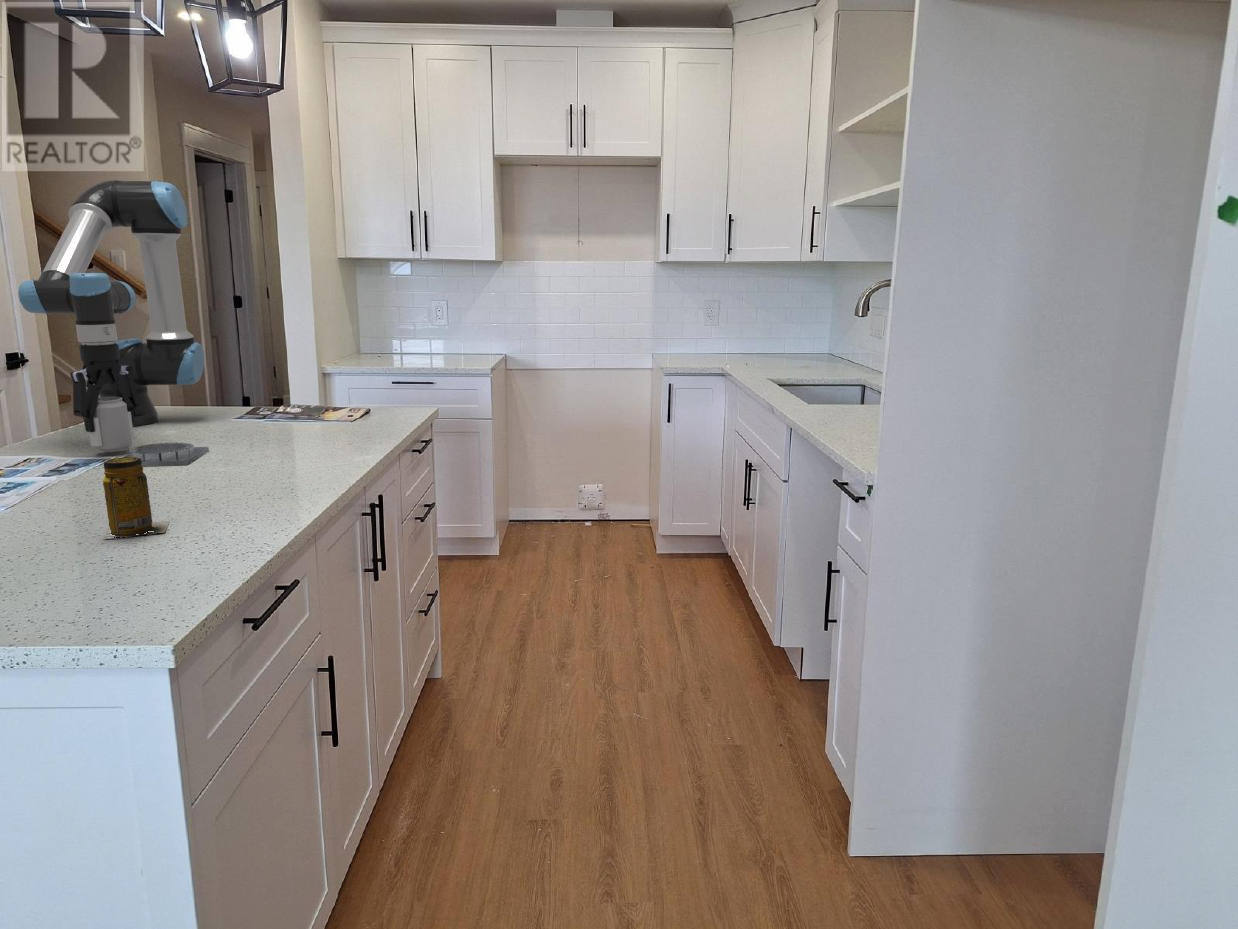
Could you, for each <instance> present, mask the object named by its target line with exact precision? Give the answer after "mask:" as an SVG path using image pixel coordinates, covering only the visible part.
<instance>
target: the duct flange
mask: <svg viewBox="0 0 1238 929" xmlns="http://www.w3.org/2000/svg"><path fill="white" fill-rule="evenodd" d="M209 449H210V448H209V446H195V445H194V444H192V443H188V442H179V441H178V442H160V443H159V442H158V443H150V444H144V445H139V446H135V447H132V448H130V449H129V450H128V453H129V454H127V455H125V456H124V457H137V458H140V459H141V461H142V467H165V466H166V467H168V466H169V467H171V466H174V467H175V465H176V466H188V465H190V464H192V463H193V462H195V461H196V460H198V459H199V458H201V457H202V456H203V454H204V453H205V454H206V452H207V453H208V452H210V450H209ZM205 454H204V455H205ZM201 455H202V456H201ZM200 456H201V457H200ZM197 458H198V459H197ZM195 459H196V460H195ZM194 460H195V461H194ZM191 462H192V463H191Z"/></svg>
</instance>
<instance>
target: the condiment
mask: <svg viewBox="0 0 1238 929" xmlns="http://www.w3.org/2000/svg"><path fill="white" fill-rule="evenodd" d="M103 469H104V471H103V472H104V473H103V474H104V478H103V480H102V485H103V489H104V497H105V503H106V506H105V507H106V512H107V520H108V527H109V531H111V533H107V534H112V535H115V536H110V535H109V536H105V537H104V538H103V540H109V539H110V540H111V539H113V538H108V537H115V538H114V539H117V538H116V537H120V538H119V539H121V538H122V537H125V538H132V537H137V536H141V535H142V536H143V535H144V536H146V535H154V534H163V533H166V532H167V530H168V528H169V524H170V520H166V521H165V520H164V521H154V522H153V515H152V509H151V502H150V494H149V486H148V485H149V484H148V478H147V475H146V474H145V473H144V466H142V461H141V459H140V458H137V457H125V456H123V457H114V458H110V459H107V460H105V461H104V462H103ZM109 531H108V532H109ZM148 531H154V532H148ZM146 532H147V534H144V533H146ZM136 534H140V535H136ZM122 539H123V538H122Z"/></svg>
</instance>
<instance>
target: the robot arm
mask: <svg viewBox="0 0 1238 929" xmlns="http://www.w3.org/2000/svg"><path fill="white" fill-rule="evenodd" d="M183 198H184V197H182V194H181V192H180V190H179V189H178V188H177V187H176V186H175V185H174V184H172V183H170V182H165V181H164V182H163V181H157V180H154V181H153V180H150V181H148V180H145V181H144V180H142V181H141V180H117V179H115V180H114V179H113V180H106V181H103V182H99V183H97V184H94V185H92V186H91V187H89V188H87V189H86V190H85V191H84V192H82V193H81V194H80V195H78V197H77V198H76V199H75V200H74V201H73V203H72V204H71V205H70V206H71V207H70V208H69V210H68V219H69V221H68V223H67V224H66V226H65V228H64V230H63V231H62V234H61V236H60V238H59V240H58V242H57V244H56V246H55V247H54V250H53V251H52V253H51V255H50V257H49V259H48V261H47V263H46V265H45V266H44V269H43V270H42V272H41V274H40V276H39V277H38V279H36V280H35V279H31V280H24V281H22V282H21V283H20V284H19V286H18V292H17V293H18V294H17V295H18V299H19V302H20V304H21V306H22V308H23V309H24V310H25V311H26V312H28V313H32V314H45V315H50V314H51V315H53V314H54V315H55V314H56V315H57V314H59V315H60V314H63V315H64V314H74V319H75V320H74V321H75V328H76V335H77V336H76V337H77V341H78V343H81V344H79V346H78V348H79V354H80V355H79V356H80V360H81V361H82V363H83V365H82V369H81V370H77V371H71V372H70V373H69V374H70V377H71V381H72V395H73V397H72V398H73V400H72V404H73V405H72V406H73V407H72V409H73V415H74V416H75V417H80V418H82V419H83V422H84V428H85V433H88V435H89V436H88V437H89V443H90V444H89V445H90V446H91V447H94V446H102V440H101V433H100V426H99V419H98V418H97V417H94V416H95V411H96V406H97V402H98V398H101V397H122V398H123V399H122V401H123V402H124V403H126V404H127V411H128V418H129V425H130V432H131V440H134V439H135V434H134V427H137V426H145V425H150V424H153V423H157V422H159V416H158V411H157V409H156V407H155V404H154V403H153V401H152V399H151V397H150V396H149V392H148V391H149V390H148V386H170V385H171V386H179V387H180V386H184V385H185V386H187V385H194V384H196V383H198V382H199V381H200V379H201V377H202V375H203V371H204V366H205V351H204V349H203V346H202V344H200V343H199V342H196V341H195V337H194V335H193V334H192V333H191V332H190V331H189V330H188V328H187V322H186V321H187V320H186V314H185V313H186V312H185V305H184V298H183V288H182V282H181V273H180V265H179V257H178V249H177V241H178V239H180V237H181V236H182V231H181V229H184V228H186V227H187V226H188V212H187V208H186V203H185V201H184V199H183ZM117 227H124V228H125V227H126V228H130V229H131V235H132V236H134V238H136V239H137V240H138V242H139V248H140V249H139V250H140V256H141V263H142V269H143V276H144V284H145V292H146V300H147V306H148V307H147V308H148V314H149V320H150V321H149V322H150V329H151V331H150V333H149V334H148V335H147V336H146V337H145V338H146V342H145V343H143V341H142V338H140V337H135V338H134V337H133V338H128V339H120V340H119V339H118V334H117V332H118V331H117V326H116V319H115V318H116V317H115V314H119V315H120V314H123V313H125V312H128V311H131V310H132V308H133V307H134V306H135V304H136V300H137V297H136V293H135V290H134V289H133V287H131V285H129V284H128V283H126V282H124V281H120V280H116V279H114V280H113V279H112V280H111V279H110V277H109V275H108V274H107V273H102V272H86V271H87V270H88V268H89V265H90V263H91V261H92V259H93V257H94V256H95V253H96V251H97V249H98V247H99V245H100V242H101V240H102V239H103V237H104V236H107V235H108V234H109V233H110V232H111V231H112V229H114V228H117Z"/></svg>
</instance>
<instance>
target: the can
mask: <svg viewBox="0 0 1238 929" xmlns="http://www.w3.org/2000/svg"><path fill="white" fill-rule="evenodd" d="M122 399H123V398H122V397H101V398H99V397H98V402H97V406H96V411H95V416H94V417H97V418H98V419H99V426H100V433H101V440H102V446H93V448H95V449H96V450H98V451H99V452H104V453H110V452H120V451H124V450H127V449H129V448H130V446H132V444H133V441H132V440H133V439H131V432H130V425H129V418H128V411H127V404H126V403H124V402H123V401H122Z"/></svg>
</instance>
